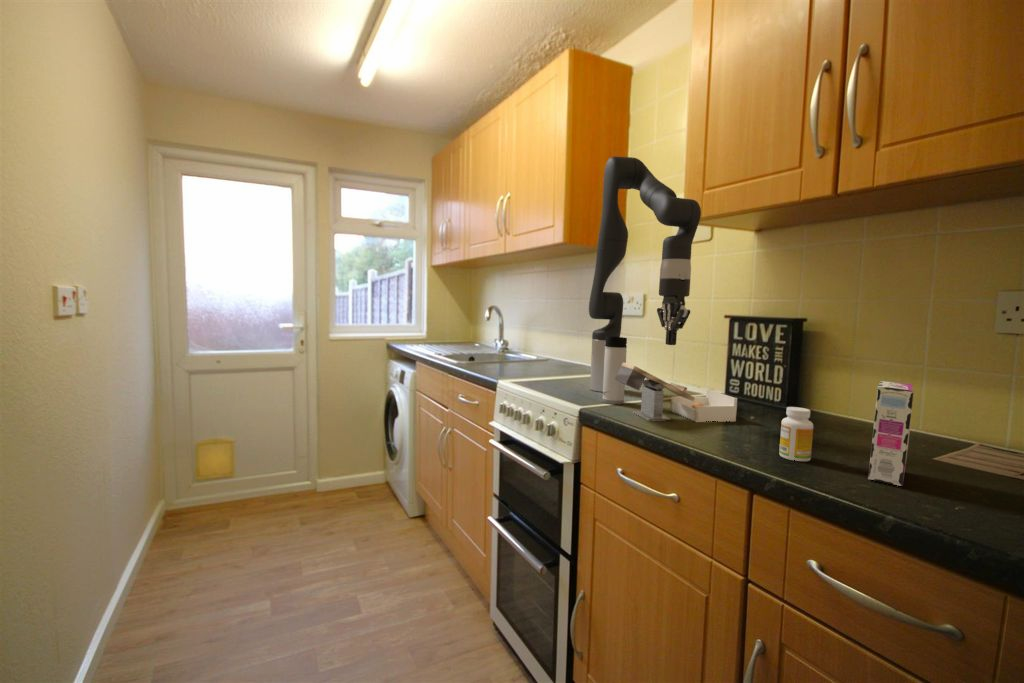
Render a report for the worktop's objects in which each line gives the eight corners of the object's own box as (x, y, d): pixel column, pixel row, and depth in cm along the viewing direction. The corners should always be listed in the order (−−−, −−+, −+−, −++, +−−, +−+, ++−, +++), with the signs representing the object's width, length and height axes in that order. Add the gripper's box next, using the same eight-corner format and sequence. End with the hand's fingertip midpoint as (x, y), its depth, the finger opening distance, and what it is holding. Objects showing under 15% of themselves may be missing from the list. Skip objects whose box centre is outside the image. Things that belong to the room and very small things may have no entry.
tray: (670, 411, 131) (671, 389, 131) (707, 410, 134) (709, 389, 133) (695, 422, 120) (697, 398, 119) (735, 421, 122) (737, 398, 121)
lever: (625, 383, 118) (636, 361, 118) (614, 379, 125) (625, 358, 125) (686, 415, 122) (697, 393, 122) (672, 408, 129) (682, 388, 129)
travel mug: (601, 403, 139) (604, 335, 137) (603, 399, 145) (606, 334, 143) (622, 405, 137) (626, 336, 135) (624, 401, 143) (627, 335, 141)
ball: (702, 405, 128) (696, 415, 128) (693, 399, 127) (687, 409, 127) (709, 407, 125) (703, 417, 125) (700, 401, 124) (694, 411, 124)
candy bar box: (905, 488, 78) (914, 390, 77) (867, 480, 81) (876, 386, 80) (904, 471, 87) (913, 383, 85) (870, 465, 90) (878, 379, 89)
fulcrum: (632, 413, 128) (634, 378, 127) (653, 412, 129) (655, 378, 128) (648, 421, 119) (650, 384, 118) (670, 420, 120) (672, 384, 119)
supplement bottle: (813, 458, 93) (817, 409, 92) (807, 464, 89) (811, 413, 88) (783, 451, 97) (786, 404, 96) (775, 457, 93) (779, 408, 92)
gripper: (649, 278, 127) (645, 342, 129) (675, 276, 114) (670, 347, 116) (674, 279, 129) (670, 342, 130) (703, 277, 116) (698, 347, 117)
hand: (670, 344), depth 123 cm, fingers closed
